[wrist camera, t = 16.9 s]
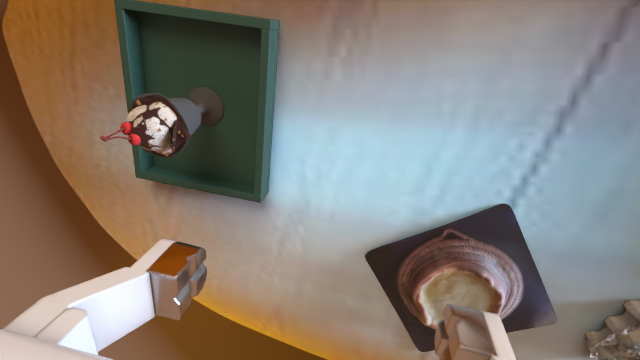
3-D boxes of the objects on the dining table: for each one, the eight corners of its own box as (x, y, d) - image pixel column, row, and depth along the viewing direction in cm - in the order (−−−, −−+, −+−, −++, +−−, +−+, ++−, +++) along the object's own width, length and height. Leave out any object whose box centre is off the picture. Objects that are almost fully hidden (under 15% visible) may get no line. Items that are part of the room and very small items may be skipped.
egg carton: (638, 290, 43) (662, 314, 39) (686, 317, 43) (714, 344, 40) (573, 337, 48) (589, 363, 44) (617, 362, 48) (636, 389, 44)
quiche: (557, 320, 47) (571, 344, 43) (419, 350, 54) (422, 373, 50) (508, 200, 41) (520, 216, 38) (362, 251, 48) (360, 269, 45)
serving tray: (133, 0, 40) (113, -3, 37) (279, 20, 38) (270, 19, 35) (150, 168, 49) (135, 177, 46) (268, 192, 47) (260, 202, 44)
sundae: (171, 96, 43) (72, 126, 29) (209, 69, 40) (122, 89, 27) (201, 140, 45) (121, 187, 31) (239, 117, 42) (171, 157, 29)
